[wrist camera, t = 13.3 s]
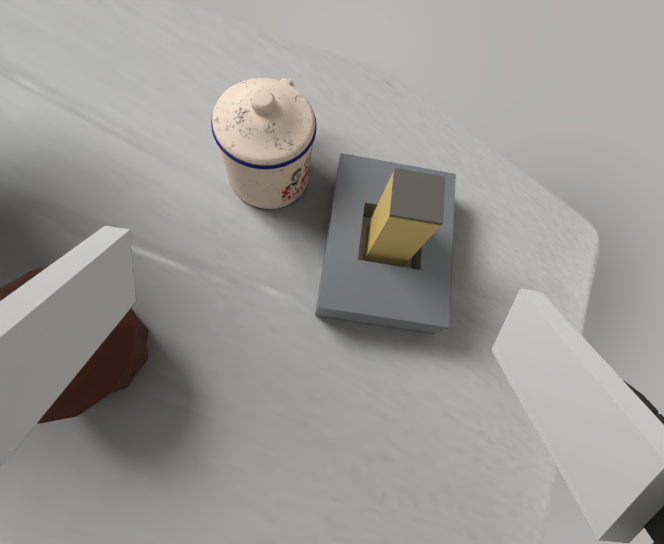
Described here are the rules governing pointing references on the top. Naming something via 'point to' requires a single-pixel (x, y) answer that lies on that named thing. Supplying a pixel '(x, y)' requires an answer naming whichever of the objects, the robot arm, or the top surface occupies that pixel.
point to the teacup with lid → (265, 140)
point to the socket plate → (375, 278)
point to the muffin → (97, 363)
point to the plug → (405, 217)
